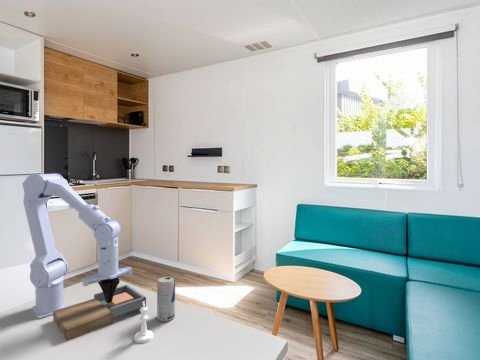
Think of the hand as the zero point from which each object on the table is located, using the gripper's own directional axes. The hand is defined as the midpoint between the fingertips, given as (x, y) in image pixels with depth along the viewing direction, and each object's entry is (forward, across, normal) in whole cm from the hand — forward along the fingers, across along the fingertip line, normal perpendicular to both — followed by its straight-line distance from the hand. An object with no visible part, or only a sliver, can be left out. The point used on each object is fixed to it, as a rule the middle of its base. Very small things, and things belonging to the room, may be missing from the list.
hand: (108, 301), depth 90 cm
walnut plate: (+4, -8, 0) cm, 8 cm away
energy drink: (+4, +12, -15) cm, 19 cm away
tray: (+4, +4, 0) cm, 5 cm away
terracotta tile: (+2, +4, 0) cm, 4 cm away
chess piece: (+4, +2, -20) cm, 20 cm away
